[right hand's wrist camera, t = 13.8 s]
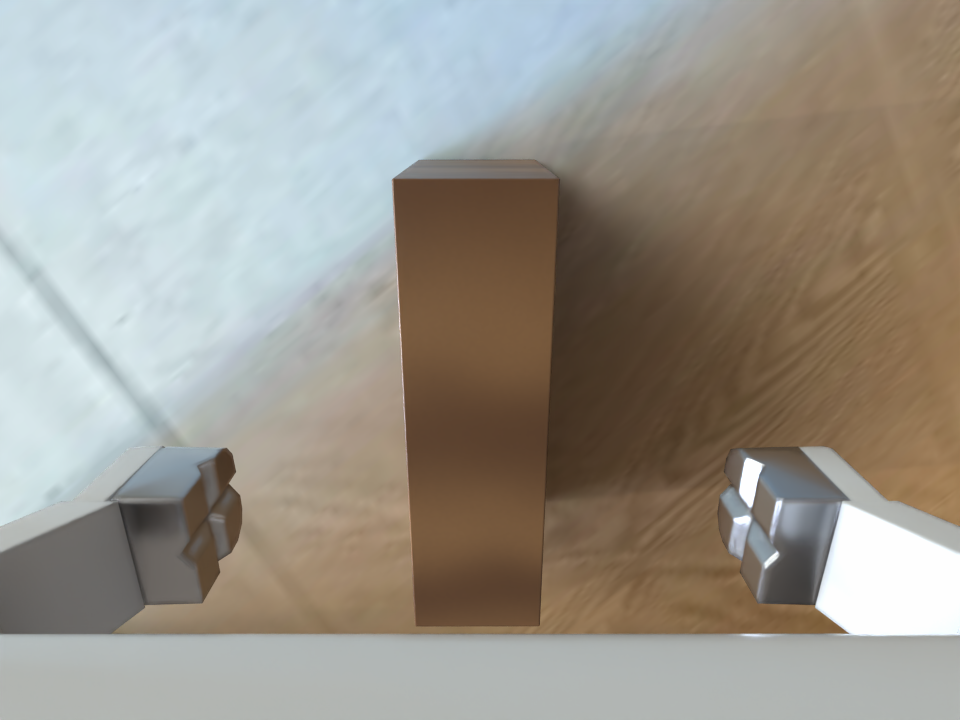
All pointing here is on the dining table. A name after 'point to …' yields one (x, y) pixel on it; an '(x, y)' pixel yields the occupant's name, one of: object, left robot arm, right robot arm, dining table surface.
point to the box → (476, 382)
